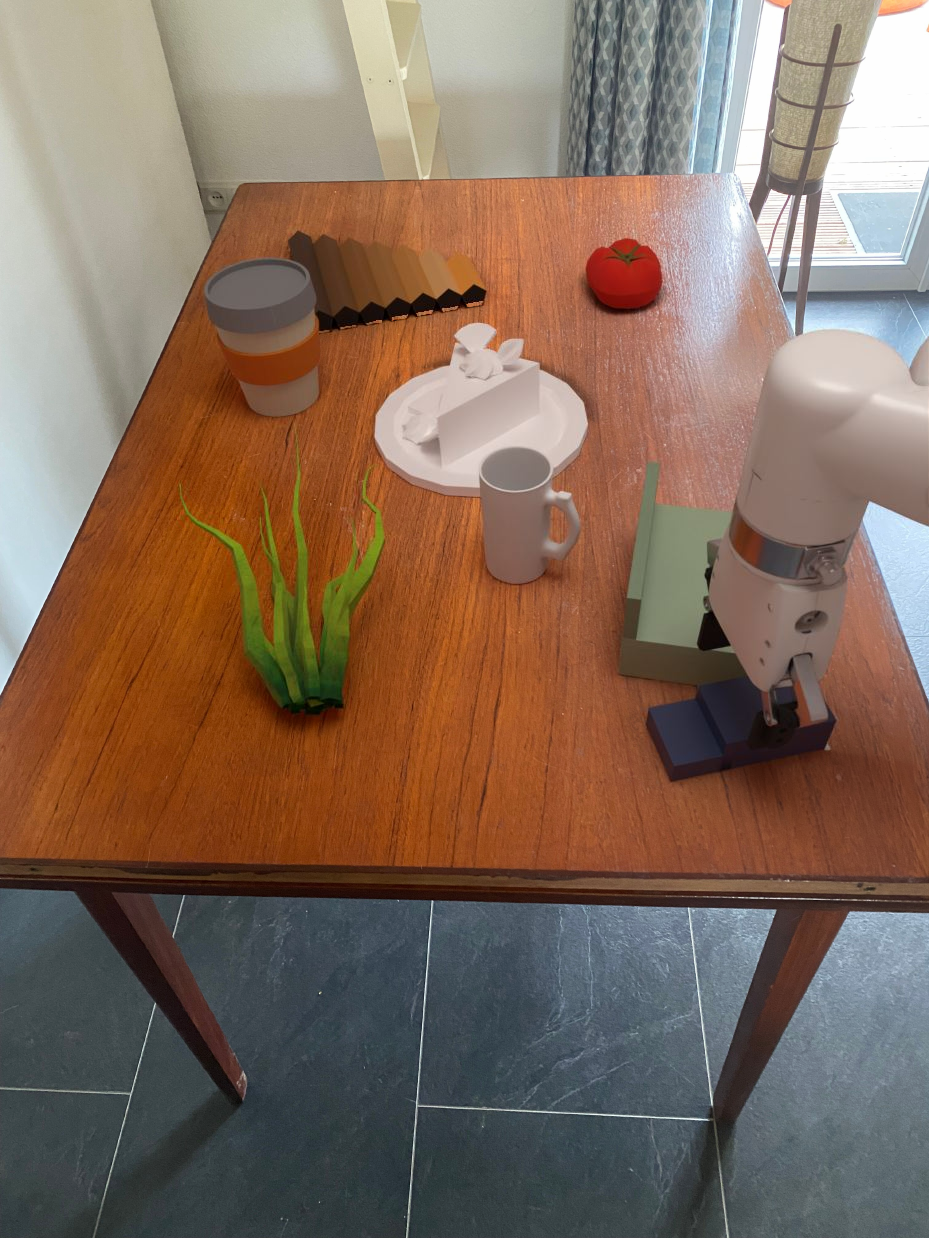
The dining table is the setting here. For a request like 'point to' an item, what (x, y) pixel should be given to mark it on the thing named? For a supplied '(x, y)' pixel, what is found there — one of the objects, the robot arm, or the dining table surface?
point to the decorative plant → (301, 618)
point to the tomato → (624, 274)
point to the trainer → (723, 730)
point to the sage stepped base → (672, 594)
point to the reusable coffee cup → (268, 332)
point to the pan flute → (381, 279)
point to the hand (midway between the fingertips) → (740, 692)
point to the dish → (477, 415)
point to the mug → (522, 514)
